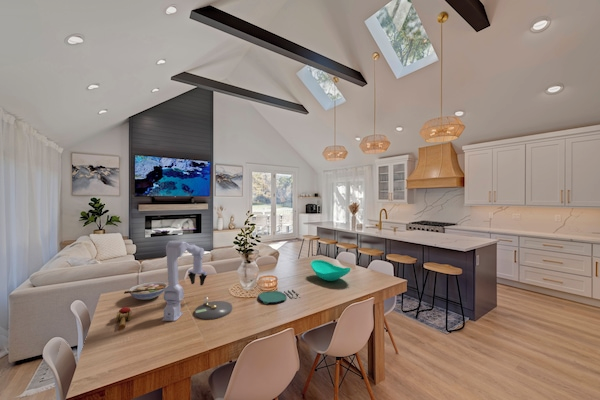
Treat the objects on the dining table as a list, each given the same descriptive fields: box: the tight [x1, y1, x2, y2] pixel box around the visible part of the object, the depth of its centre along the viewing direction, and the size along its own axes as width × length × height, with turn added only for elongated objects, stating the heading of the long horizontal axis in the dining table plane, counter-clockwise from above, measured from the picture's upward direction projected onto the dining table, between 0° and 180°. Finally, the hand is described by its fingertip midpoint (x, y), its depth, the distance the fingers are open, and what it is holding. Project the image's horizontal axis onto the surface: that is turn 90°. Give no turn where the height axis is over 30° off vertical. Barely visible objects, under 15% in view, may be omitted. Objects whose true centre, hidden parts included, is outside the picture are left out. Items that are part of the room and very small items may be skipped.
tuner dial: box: [194, 300, 233, 320], centre depth 153 cm, size 22×22×2 cm
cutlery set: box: [257, 289, 300, 305], centre depth 175 cm, size 20×30×2 cm, turn 116°
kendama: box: [115, 306, 133, 331], centre depth 137 cm, size 8×6×18 cm
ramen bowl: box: [123, 281, 168, 301], centre depth 170 cm, size 25×23×8 cm
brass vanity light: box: [202, 296, 217, 309], centre depth 154 cm, size 11×3×5 cm, turn 61°
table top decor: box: [310, 259, 352, 282], centre depth 216 cm, size 40×28×13 cm
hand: (197, 284), depth 170 cm, fingers open, 7 cm apart
